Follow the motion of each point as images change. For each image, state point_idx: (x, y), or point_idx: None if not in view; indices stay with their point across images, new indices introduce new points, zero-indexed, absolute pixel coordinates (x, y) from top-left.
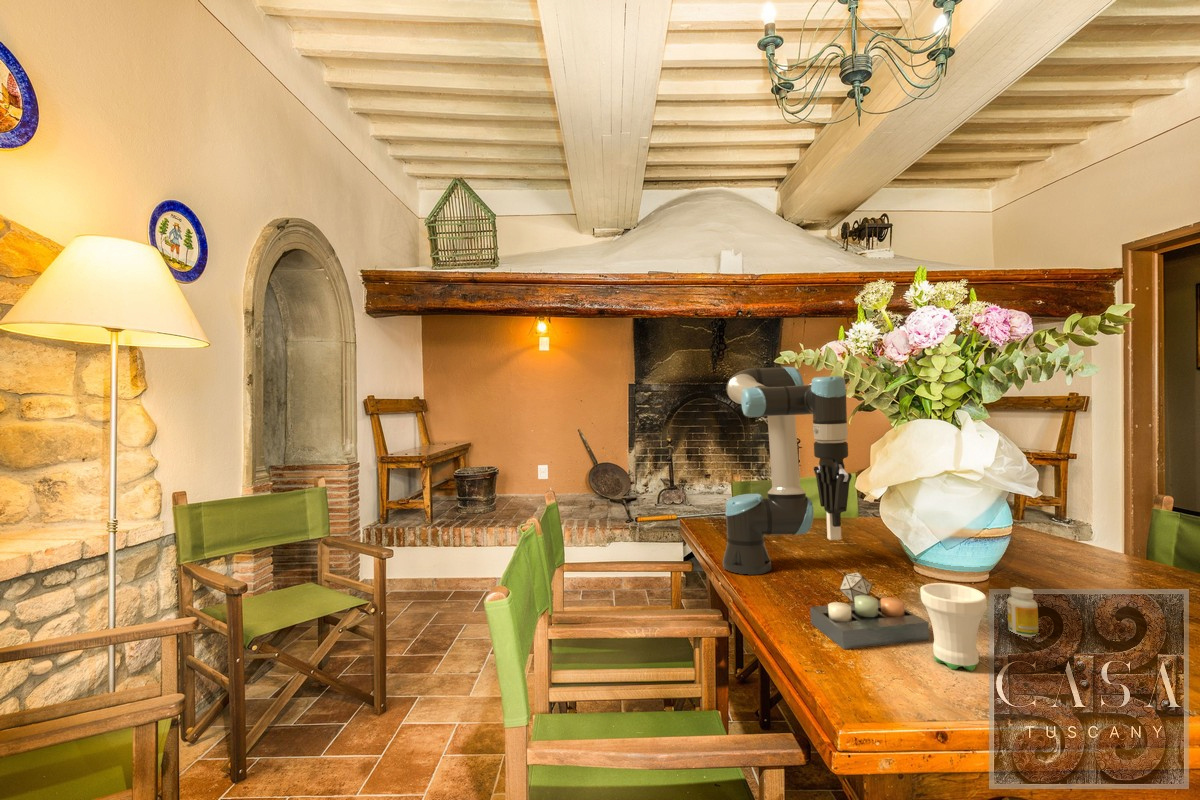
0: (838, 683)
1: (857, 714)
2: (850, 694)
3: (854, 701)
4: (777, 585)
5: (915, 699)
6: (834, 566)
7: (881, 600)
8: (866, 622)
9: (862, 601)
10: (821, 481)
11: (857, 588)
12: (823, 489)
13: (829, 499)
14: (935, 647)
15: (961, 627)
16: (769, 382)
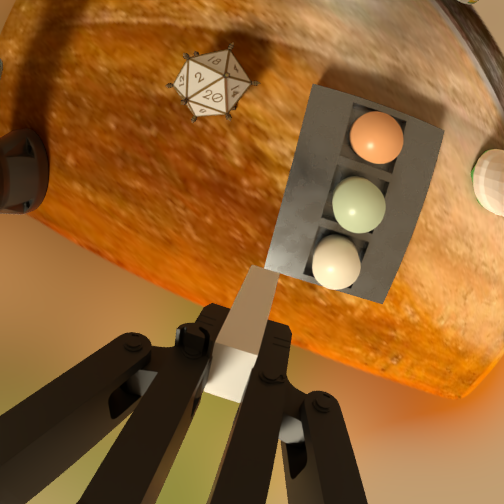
0: (426, 360)
1: (464, 380)
2: (446, 364)
3: (454, 369)
4: (92, 173)
5: (496, 315)
6: (70, 18)
7: (363, 156)
8: (384, 237)
9: (366, 228)
10: (36, 482)
11: (233, 99)
12: (77, 445)
13: (182, 437)
14: (490, 209)
15: None
16: None
